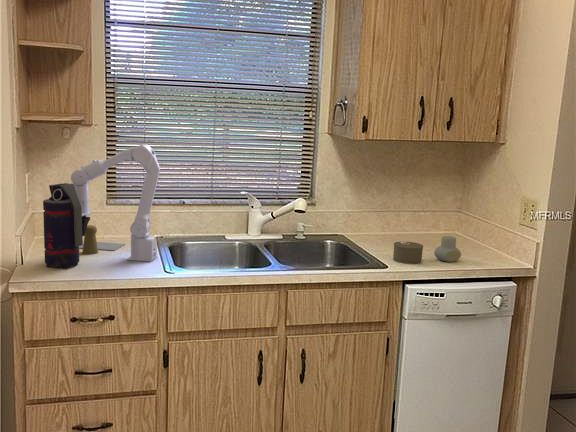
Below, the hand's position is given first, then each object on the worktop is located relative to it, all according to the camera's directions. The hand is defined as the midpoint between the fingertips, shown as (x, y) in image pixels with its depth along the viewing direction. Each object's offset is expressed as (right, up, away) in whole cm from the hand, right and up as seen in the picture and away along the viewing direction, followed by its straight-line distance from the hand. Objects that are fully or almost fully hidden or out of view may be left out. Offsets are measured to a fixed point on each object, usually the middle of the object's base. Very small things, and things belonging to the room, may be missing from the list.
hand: (81, 236), depth 233 cm
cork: (0, -7, +9) cm, 12 cm away
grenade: (-2, -11, -11) cm, 16 cm away
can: (+129, -11, +19) cm, 131 cm away
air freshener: (+146, -11, +23) cm, 148 cm away
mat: (+2, -5, +20) cm, 21 cm away
